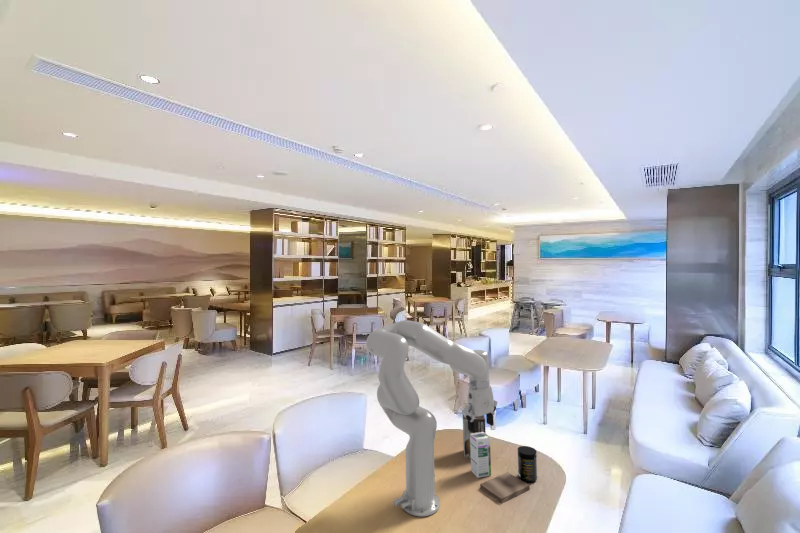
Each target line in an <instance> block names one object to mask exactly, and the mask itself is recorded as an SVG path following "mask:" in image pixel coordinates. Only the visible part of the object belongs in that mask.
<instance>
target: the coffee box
mask: <svg viewBox="0 0 800 533" xmlns="http://www.w3.org/2000/svg"><path fill="white" fill-rule="evenodd" d="M471 417H472V415H471ZM485 417H486V416H485V415H482V416H478V417H477V416H476V417H475V419H474V422H475V432H474V433H479V432H484V433H486V418H485ZM471 433H472V434H473V432H471V431H469V430H468V420H466V418H465V417H464V415H463V414H462V436H463V439H462V440H463V442H462V444H463V445H462V446H463V456H464V458H469V459H471V450H470V434H471ZM486 434H487V433H486Z"/></svg>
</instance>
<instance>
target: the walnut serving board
mask: <svg viewBox="0 0 800 533" xmlns="http://www.w3.org/2000/svg"><path fill="white" fill-rule="evenodd" d="M479 486H480V488H479V489H480V490H482V491H483V492H484V493H486V494H488V495H489V496H490V497H492V498H493V499H495V500H496V501H497V502H499V503H500V504H503V503H505V502H508V501H510V500H511V499H513V498H517V497H518V496H519V495H522V494H523V493H524V494H525V493H526V492H528V491H530V489H531V488H530V486H531V485H530V484H529V483H526V482H523V481H522V480H520V478H519V477H517V476H515V475H513V474H511V473H510V472H504V473H503V474H500V475H498V476H496V477H493V478H491V479H489V480H486V481H484V482H481V483H480V484H479Z"/></svg>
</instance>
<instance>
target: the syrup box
mask: <svg viewBox="0 0 800 533" xmlns="http://www.w3.org/2000/svg"><path fill="white" fill-rule="evenodd" d="M470 450H471V458H470V471H471V472H472V473H473V475H474V476H475V477H476V478H477V479H481V478H485V477H491V476H492V460H491V459H492V458H491V455H492V454H491V437H490V436H489V435H488V434H487V433H484V432H479V433H473V434H472V433H471V434H470Z"/></svg>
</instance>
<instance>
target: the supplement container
mask: <svg viewBox="0 0 800 533" xmlns="http://www.w3.org/2000/svg"><path fill="white" fill-rule="evenodd" d="M537 458H538V454H537V450H536V449H535V448H534V447H531V446H527V445H521V446H519V447H517V476H518V477H517V478H518V479H520V480H522V481H523V482H525V483H527V484H533V483H536V482H537V480H538V463H537V462H538V461H537V460H538V459H537Z"/></svg>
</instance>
